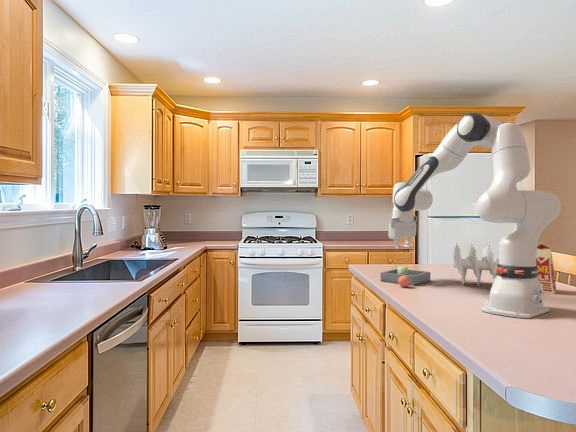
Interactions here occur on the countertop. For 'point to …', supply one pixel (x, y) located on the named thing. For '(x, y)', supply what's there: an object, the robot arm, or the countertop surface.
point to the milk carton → (545, 269)
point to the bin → (413, 275)
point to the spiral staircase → (475, 262)
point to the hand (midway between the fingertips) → (402, 248)
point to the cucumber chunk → (403, 270)
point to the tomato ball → (404, 281)
